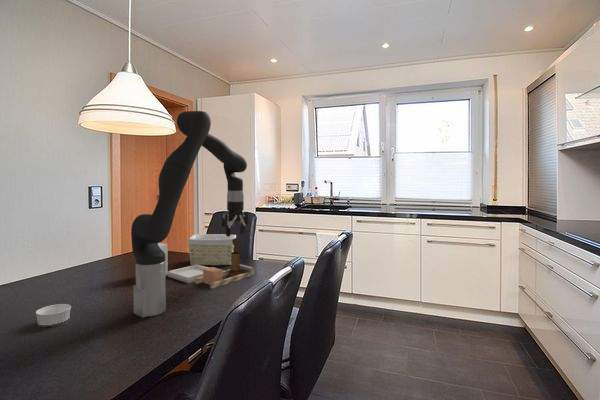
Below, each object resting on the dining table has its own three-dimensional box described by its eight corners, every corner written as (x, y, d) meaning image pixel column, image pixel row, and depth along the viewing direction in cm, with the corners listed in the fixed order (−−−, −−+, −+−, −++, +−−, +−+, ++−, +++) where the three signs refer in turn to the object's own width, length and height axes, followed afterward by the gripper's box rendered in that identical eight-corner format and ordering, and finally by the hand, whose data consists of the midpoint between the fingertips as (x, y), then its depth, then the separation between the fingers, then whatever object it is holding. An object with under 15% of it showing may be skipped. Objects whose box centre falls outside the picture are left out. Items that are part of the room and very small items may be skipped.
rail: (212, 288, 136) (212, 279, 135) (194, 283, 143) (194, 274, 143) (253, 275, 155) (253, 267, 155) (236, 271, 162) (236, 263, 162)
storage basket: (236, 259, 188) (236, 233, 187) (234, 266, 172) (234, 238, 171) (194, 259, 186) (193, 233, 185) (187, 267, 170) (187, 238, 169)
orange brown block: (213, 286, 139) (213, 272, 139) (203, 282, 143) (203, 269, 143) (222, 283, 143) (222, 269, 143) (212, 280, 147) (212, 266, 147)
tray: (188, 283, 142) (188, 277, 142) (167, 276, 152) (167, 271, 152) (217, 275, 155) (217, 269, 155) (197, 269, 165) (197, 264, 165)
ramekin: (66, 314, 109) (66, 301, 109) (75, 321, 103) (75, 308, 103) (32, 323, 102) (32, 309, 102) (40, 331, 96) (39, 317, 96)
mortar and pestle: (239, 278, 150) (239, 239, 149) (226, 277, 151) (226, 239, 150) (244, 274, 156) (244, 237, 155) (231, 273, 158) (231, 236, 157)
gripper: (228, 201, 144) (229, 238, 145) (252, 200, 155) (252, 233, 156) (217, 200, 148) (218, 236, 149) (241, 199, 159) (241, 232, 160)
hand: (235, 235), depth 153 cm, fingers open, 8 cm apart
